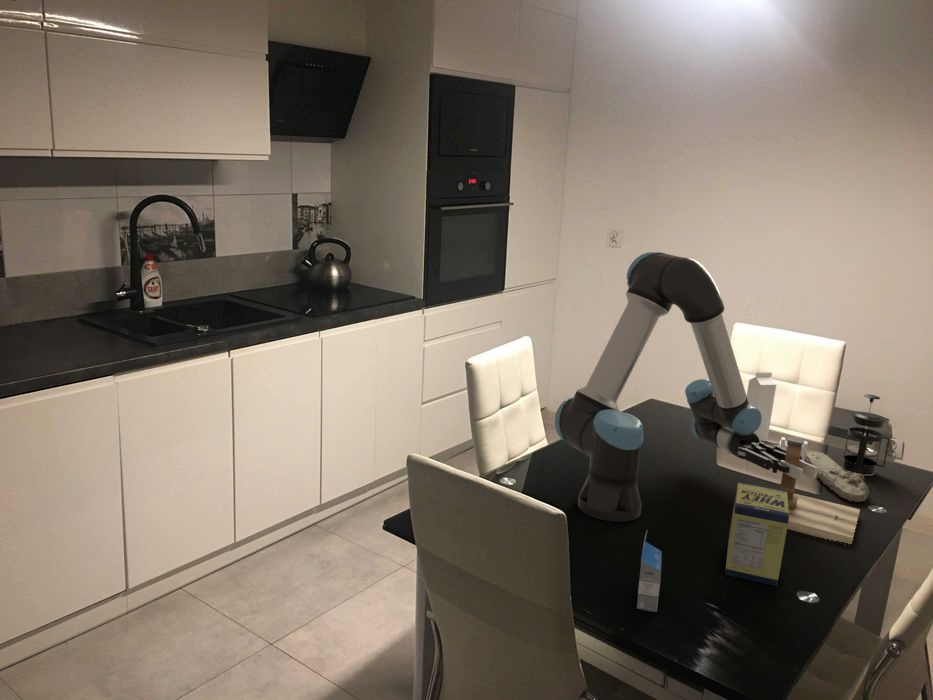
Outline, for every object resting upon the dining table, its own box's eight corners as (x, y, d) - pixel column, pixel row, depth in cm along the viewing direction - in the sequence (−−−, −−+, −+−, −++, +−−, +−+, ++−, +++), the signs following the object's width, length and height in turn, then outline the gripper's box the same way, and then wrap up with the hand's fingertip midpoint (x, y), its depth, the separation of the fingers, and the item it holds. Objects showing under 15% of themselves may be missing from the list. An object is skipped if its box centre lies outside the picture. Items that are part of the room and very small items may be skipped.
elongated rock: (827, 464, 242) (793, 463, 243) (828, 447, 242) (795, 446, 242) (879, 505, 208) (839, 504, 208) (881, 485, 207) (841, 484, 208)
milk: (767, 441, 256) (778, 375, 251) (751, 441, 254) (762, 375, 249) (755, 435, 261) (766, 370, 256) (739, 435, 260) (750, 370, 255)
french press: (836, 471, 233) (850, 395, 228) (839, 462, 241) (853, 388, 236) (881, 481, 227) (896, 403, 222) (883, 471, 235) (897, 396, 230)
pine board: (851, 545, 183) (852, 537, 183) (756, 520, 193) (757, 513, 193) (858, 516, 200) (860, 509, 200) (771, 495, 210) (772, 488, 210)
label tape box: (656, 613, 148) (665, 552, 146) (634, 608, 150) (642, 548, 147) (658, 590, 157) (666, 532, 154) (637, 586, 158) (645, 529, 155)
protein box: (776, 555, 176) (787, 489, 172) (777, 587, 161) (790, 516, 158) (727, 545, 179) (737, 480, 176) (724, 575, 165) (735, 505, 161)
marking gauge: (793, 510, 196) (805, 444, 192) (772, 505, 198) (783, 440, 194) (796, 503, 200) (808, 439, 196) (775, 498, 202) (786, 435, 199)
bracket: (803, 468, 234) (807, 444, 232) (777, 463, 236) (781, 439, 235) (802, 455, 246) (806, 431, 244) (778, 450, 248) (782, 427, 246)
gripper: (760, 452, 217) (831, 485, 197) (711, 457, 210) (779, 492, 189) (765, 426, 215) (836, 456, 195) (715, 430, 208) (784, 462, 188)
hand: (808, 474), depth 192 cm, fingers closed on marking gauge, 4 cm apart
